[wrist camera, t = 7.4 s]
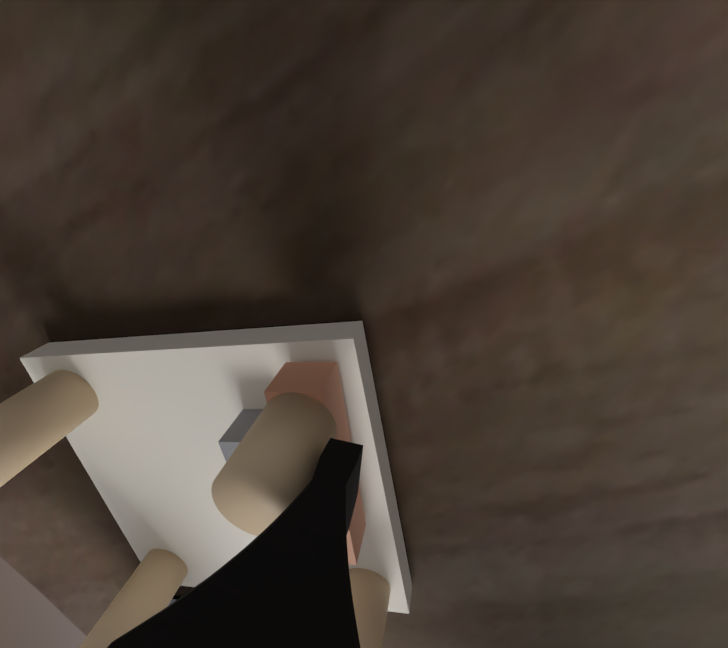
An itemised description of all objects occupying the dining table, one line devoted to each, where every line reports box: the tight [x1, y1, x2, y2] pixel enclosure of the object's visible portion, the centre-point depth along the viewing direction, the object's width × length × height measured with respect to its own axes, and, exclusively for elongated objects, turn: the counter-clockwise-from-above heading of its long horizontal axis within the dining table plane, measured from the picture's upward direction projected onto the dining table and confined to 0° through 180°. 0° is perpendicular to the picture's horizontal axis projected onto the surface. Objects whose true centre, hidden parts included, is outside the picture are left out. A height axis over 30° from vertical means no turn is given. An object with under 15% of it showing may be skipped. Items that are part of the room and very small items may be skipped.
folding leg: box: [211, 362, 366, 565], centre depth 14 cm, size 8×3×5 cm, turn 8°
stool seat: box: [0, 321, 412, 648], centre depth 18 cm, size 16×16×7 cm
